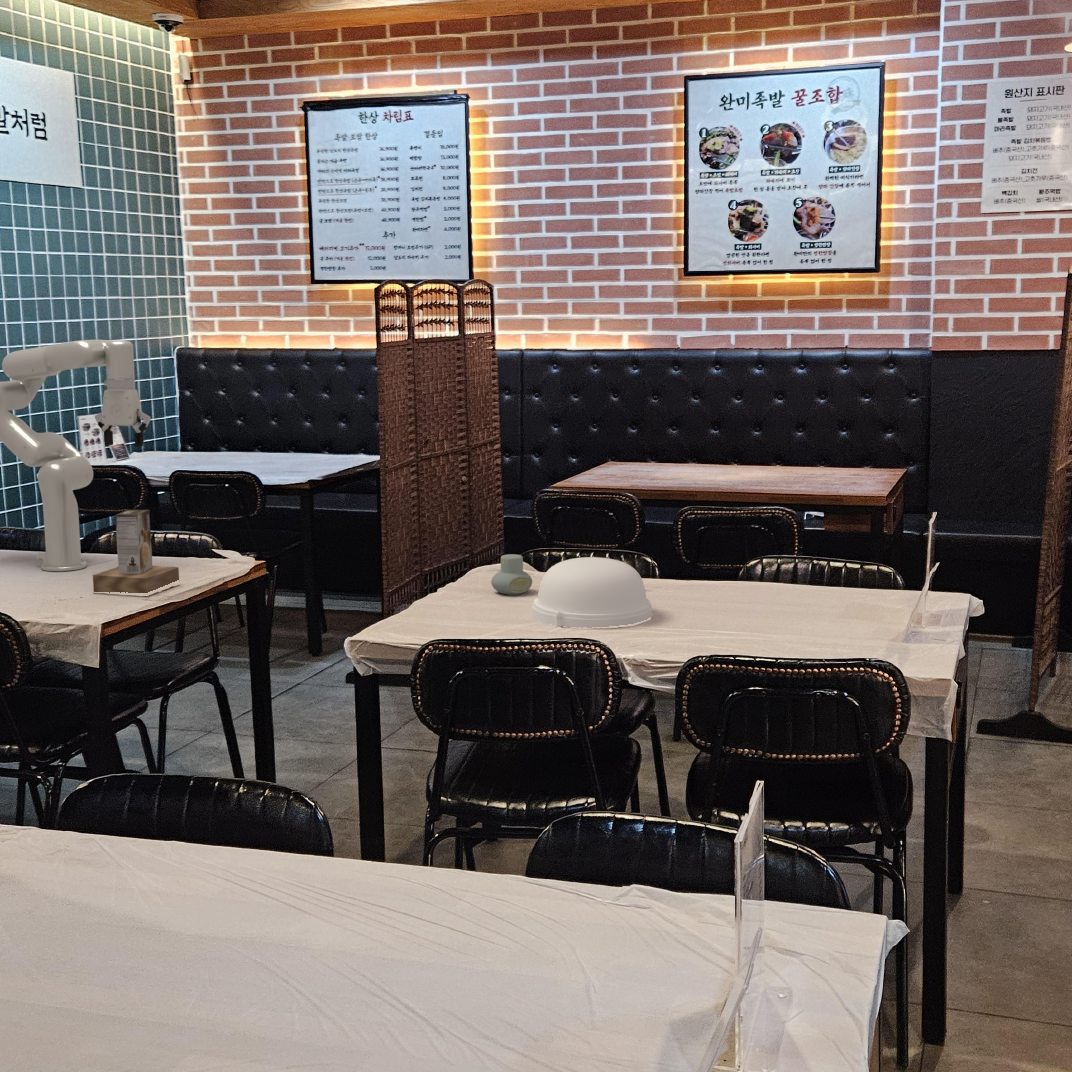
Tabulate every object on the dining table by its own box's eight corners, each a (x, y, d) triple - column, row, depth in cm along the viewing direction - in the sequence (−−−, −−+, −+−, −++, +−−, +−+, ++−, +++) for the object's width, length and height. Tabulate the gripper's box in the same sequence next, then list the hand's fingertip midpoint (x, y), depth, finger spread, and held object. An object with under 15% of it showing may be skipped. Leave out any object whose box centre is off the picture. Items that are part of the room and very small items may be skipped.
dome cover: (575, 596, 350) (575, 544, 347) (675, 611, 333) (676, 556, 331) (505, 620, 323) (505, 563, 321) (610, 637, 307) (611, 578, 305)
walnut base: (93, 593, 351) (92, 574, 350) (128, 581, 366) (127, 563, 365) (146, 597, 347) (145, 578, 346) (179, 585, 362) (178, 567, 361)
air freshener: (502, 598, 347) (502, 560, 345) (486, 592, 354) (486, 555, 352) (537, 593, 353) (537, 556, 351) (520, 587, 360) (520, 551, 358)
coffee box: (130, 567, 360) (127, 509, 357) (153, 567, 360) (150, 509, 357) (117, 574, 351) (114, 514, 348) (141, 574, 351) (138, 514, 348)
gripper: (86, 385, 369) (89, 446, 372) (140, 386, 364) (143, 448, 367) (102, 383, 376) (105, 443, 379) (155, 384, 371) (158, 445, 374)
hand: (124, 445), depth 373 cm, fingers open, 9 cm apart
